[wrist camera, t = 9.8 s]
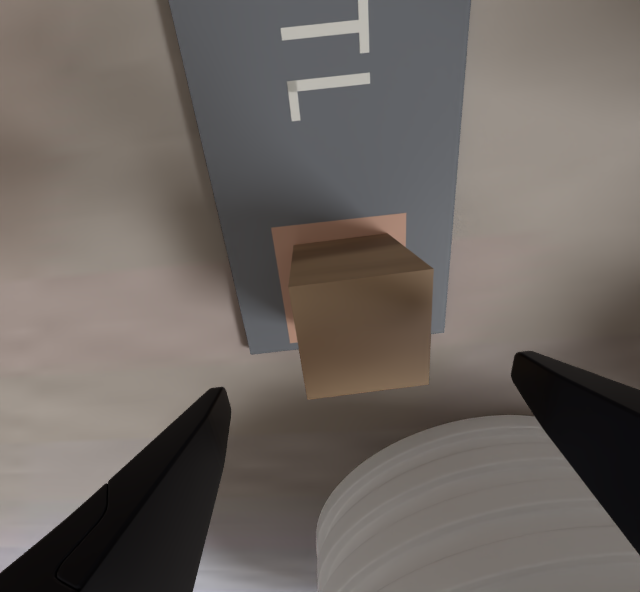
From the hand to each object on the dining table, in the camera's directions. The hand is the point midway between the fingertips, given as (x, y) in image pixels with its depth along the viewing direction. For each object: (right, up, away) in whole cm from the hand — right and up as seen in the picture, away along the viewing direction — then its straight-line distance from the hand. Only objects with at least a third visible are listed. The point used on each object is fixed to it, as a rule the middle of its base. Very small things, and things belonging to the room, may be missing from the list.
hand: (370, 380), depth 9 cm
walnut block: (0, +3, +7) cm, 8 cm away
